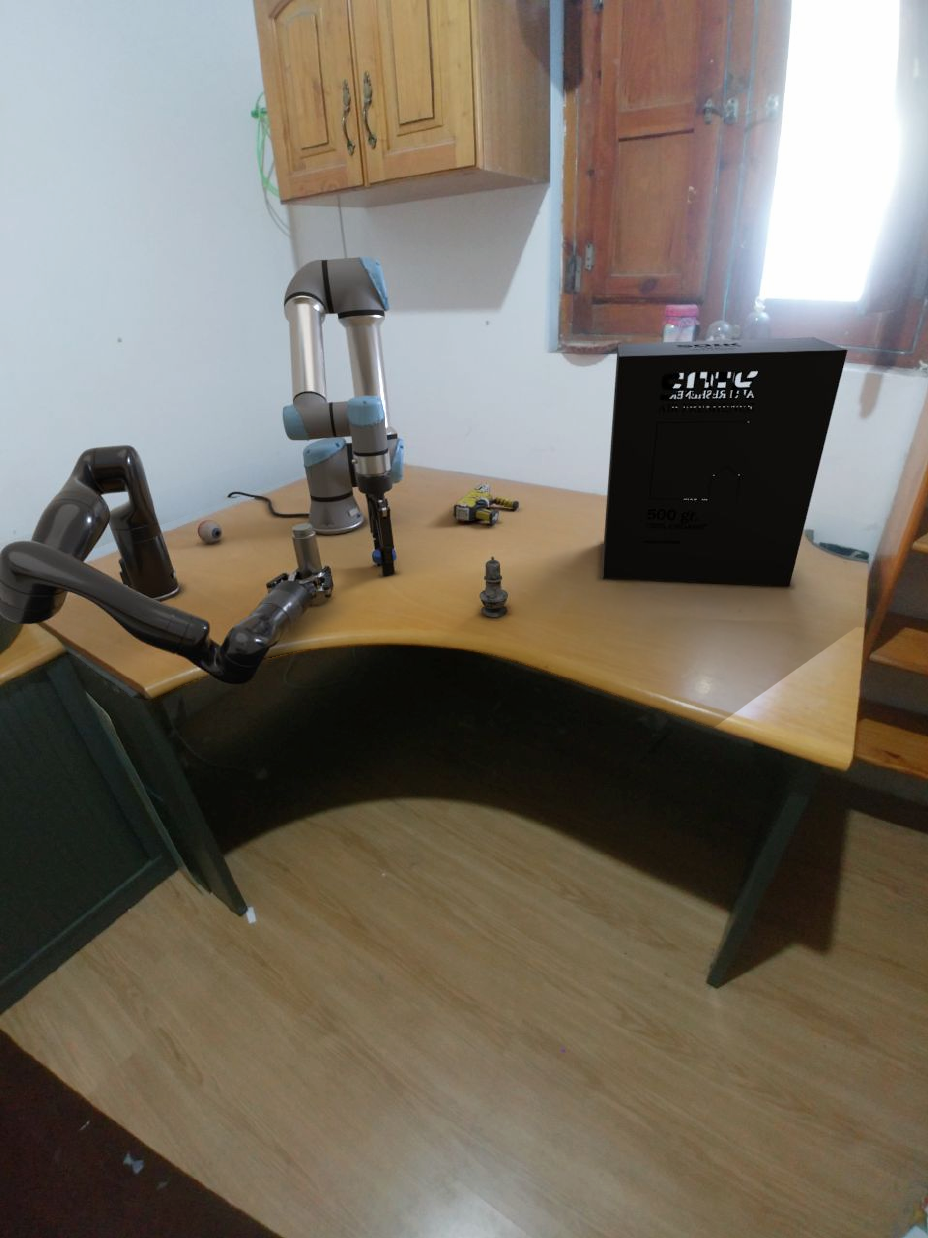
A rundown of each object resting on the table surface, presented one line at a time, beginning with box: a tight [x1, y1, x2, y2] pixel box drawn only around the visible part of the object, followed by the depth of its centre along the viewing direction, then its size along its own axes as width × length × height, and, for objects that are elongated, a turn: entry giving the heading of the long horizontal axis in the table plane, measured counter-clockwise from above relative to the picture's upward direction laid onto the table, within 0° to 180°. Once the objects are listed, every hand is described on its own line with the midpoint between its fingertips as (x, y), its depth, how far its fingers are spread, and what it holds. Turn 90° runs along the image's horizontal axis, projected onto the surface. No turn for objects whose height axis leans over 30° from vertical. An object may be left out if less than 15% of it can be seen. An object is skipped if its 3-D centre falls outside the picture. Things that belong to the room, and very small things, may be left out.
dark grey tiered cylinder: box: [478, 555, 509, 618], centre depth 119 cm, size 6×6×12 cm
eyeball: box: [197, 519, 223, 544], centre depth 161 cm, size 6×6×6 cm
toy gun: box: [452, 482, 520, 526], centre depth 172 cm, size 5×24×15 cm
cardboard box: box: [602, 336, 849, 588], centre depth 126 cm, size 38×20×45 cm, turn 78°
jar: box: [291, 522, 329, 607], centre depth 126 cm, size 5×5×17 cm
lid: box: [371, 548, 397, 565], centre depth 141 cm, size 6×6×2 cm
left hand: (316, 569), depth 130 cm, fingers closed on jar, 4 cm apart
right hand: (385, 569), depth 142 cm, fingers closed on lid, 5 cm apart
